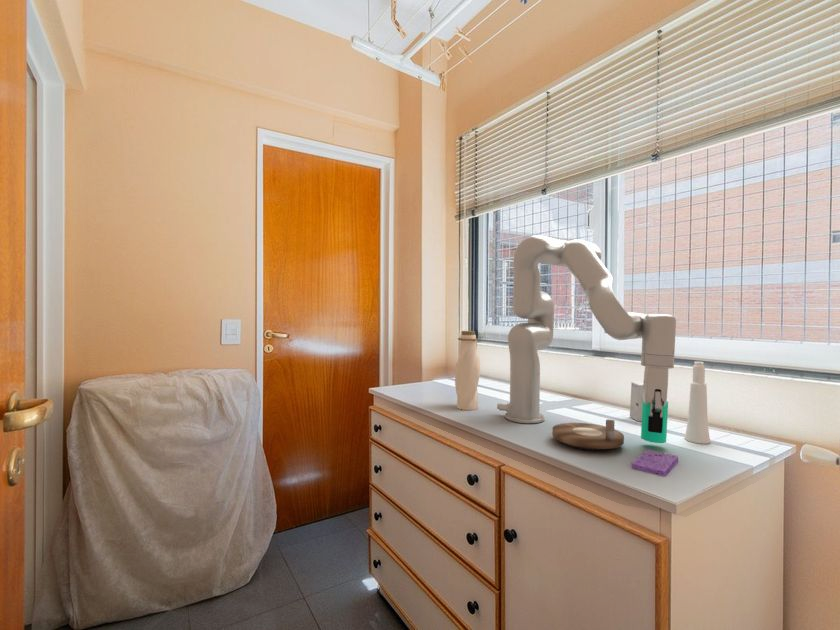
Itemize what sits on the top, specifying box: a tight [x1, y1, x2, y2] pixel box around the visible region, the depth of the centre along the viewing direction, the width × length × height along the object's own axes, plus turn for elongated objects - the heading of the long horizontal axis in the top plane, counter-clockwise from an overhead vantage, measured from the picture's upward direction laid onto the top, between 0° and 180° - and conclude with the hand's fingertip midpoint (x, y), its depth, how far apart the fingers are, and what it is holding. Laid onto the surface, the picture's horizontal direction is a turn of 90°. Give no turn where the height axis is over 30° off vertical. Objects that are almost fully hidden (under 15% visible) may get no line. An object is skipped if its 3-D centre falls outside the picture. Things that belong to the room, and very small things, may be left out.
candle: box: [640, 400, 669, 444], centre depth 111 cm, size 6×6×12 cm
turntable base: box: [566, 444, 608, 452], centre depth 114 cm, size 12×12×1 cm
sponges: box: [630, 449, 679, 477], centre depth 99 cm, size 7×13×2 cm, turn 137°
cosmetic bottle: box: [684, 361, 711, 445], centre depth 117 cm, size 6×6×22 cm
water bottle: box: [454, 330, 481, 411], centre depth 154 cm, size 10×9×28 cm
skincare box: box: [629, 381, 644, 422], centre depth 139 cm, size 6×4×12 cm
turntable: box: [551, 418, 625, 450], centre depth 114 cm, size 18×18×7 cm
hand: (653, 428), depth 111 cm, fingers closed on candle, 4 cm apart
